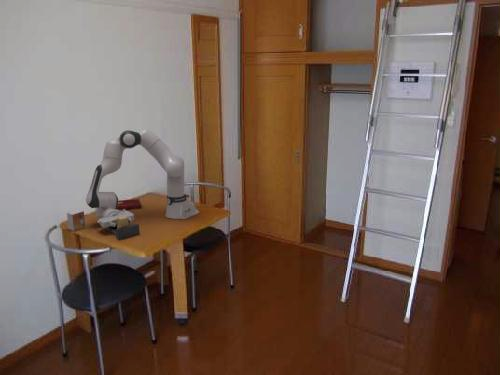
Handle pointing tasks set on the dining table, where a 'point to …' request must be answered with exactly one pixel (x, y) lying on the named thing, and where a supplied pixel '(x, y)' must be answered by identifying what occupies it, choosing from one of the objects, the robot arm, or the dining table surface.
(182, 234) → the dining table surface
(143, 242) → the dining table surface
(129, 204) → the hardcover book
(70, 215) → the small box
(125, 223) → the tall tan pillar block
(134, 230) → the pallet fork attachment
